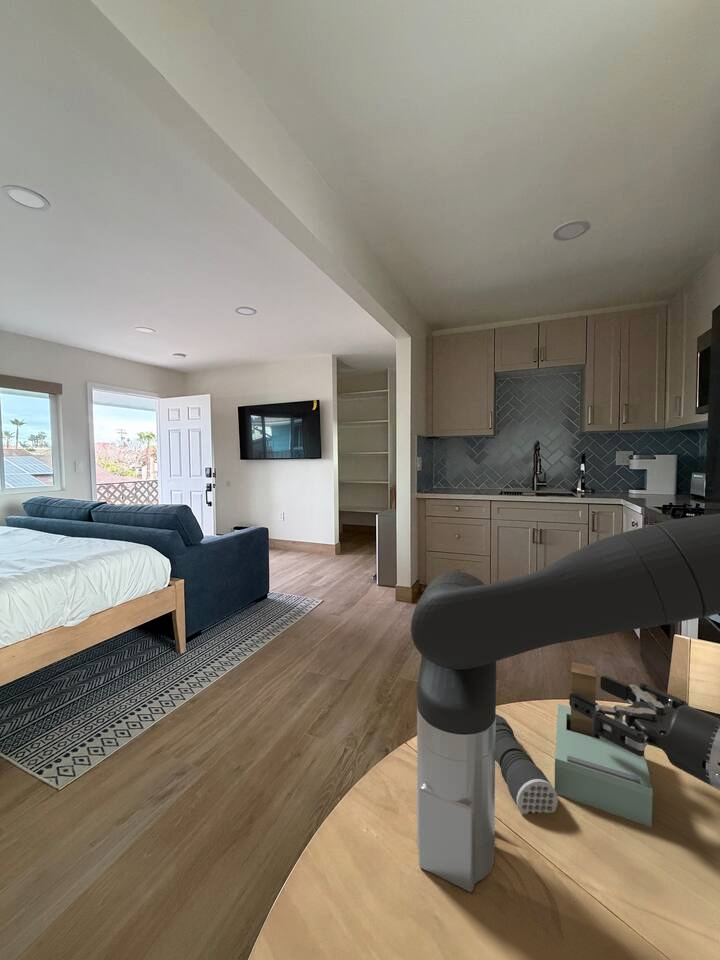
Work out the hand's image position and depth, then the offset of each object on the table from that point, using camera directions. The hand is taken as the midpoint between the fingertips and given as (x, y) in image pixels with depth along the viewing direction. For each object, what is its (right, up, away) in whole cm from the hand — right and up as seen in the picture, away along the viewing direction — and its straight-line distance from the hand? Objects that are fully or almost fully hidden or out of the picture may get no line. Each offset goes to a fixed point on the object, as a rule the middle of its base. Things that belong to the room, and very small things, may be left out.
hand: (586, 689), depth 61 cm
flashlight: (-12, -13, -2) cm, 17 cm away
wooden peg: (0, -11, +1) cm, 11 cm away
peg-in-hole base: (0, -12, -2) cm, 12 cm away
